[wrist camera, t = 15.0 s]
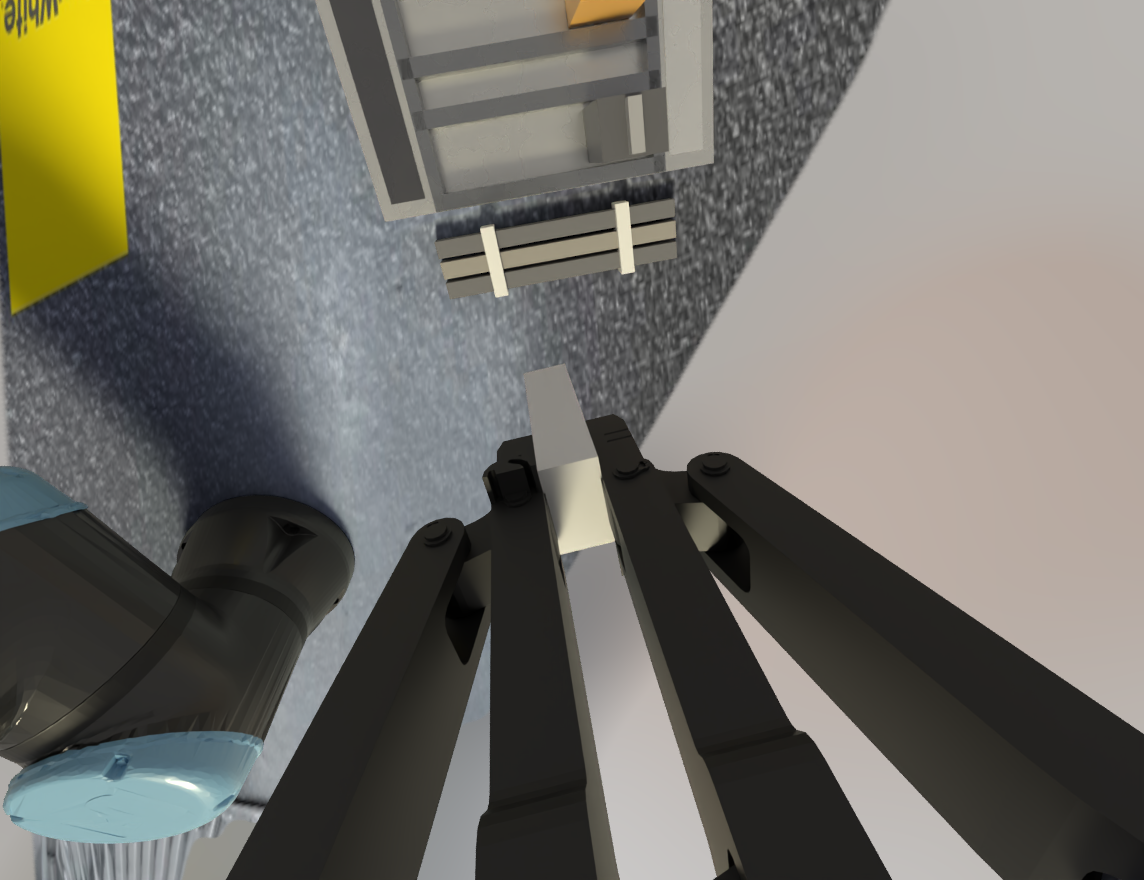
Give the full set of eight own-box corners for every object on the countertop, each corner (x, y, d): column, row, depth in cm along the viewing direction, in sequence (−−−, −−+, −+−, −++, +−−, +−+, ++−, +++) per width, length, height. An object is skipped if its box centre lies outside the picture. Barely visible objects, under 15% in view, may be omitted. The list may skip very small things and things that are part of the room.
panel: (388, 220, 36) (380, 223, 34) (309, -34, 29) (293, -50, 27) (707, 162, 37) (720, 163, 35) (704, -100, 30) (720, -121, 28)
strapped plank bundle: (453, 300, 40) (451, 305, 38) (435, 234, 37) (432, 237, 36) (672, 260, 40) (678, 263, 39) (669, 192, 38) (675, 193, 36)
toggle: (589, 162, 35) (605, 163, 29) (582, 108, 33) (598, 97, 27) (644, 152, 35) (672, 151, 29) (641, 98, 33) (669, 84, 27)
